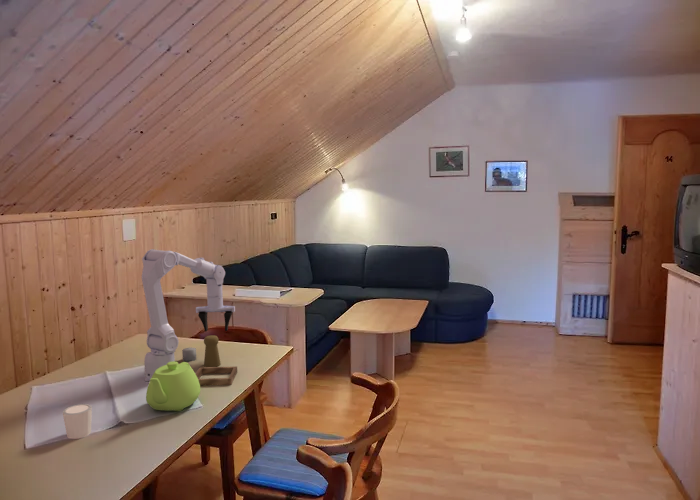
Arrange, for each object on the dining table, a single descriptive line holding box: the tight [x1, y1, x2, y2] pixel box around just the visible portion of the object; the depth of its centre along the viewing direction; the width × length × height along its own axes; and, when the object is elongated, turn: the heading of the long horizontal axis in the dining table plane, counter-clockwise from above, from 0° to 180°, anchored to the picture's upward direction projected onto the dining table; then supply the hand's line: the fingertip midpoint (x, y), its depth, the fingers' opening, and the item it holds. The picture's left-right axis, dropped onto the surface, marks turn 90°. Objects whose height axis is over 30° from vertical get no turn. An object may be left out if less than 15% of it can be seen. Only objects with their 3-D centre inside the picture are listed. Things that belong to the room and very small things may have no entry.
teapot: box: [145, 360, 201, 412], centre depth 154 cm, size 22×15×13 cm
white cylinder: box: [62, 403, 93, 440], centre depth 137 cm, size 7×7×7 cm
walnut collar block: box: [195, 366, 238, 387], centre depth 177 cm, size 13×12×2 cm
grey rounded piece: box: [181, 347, 198, 363], centre depth 197 cm, size 5×5×4 cm
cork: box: [203, 334, 222, 367], centre depth 190 cm, size 6×6×11 cm
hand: (216, 330), depth 199 cm, fingers open, 7 cm apart
